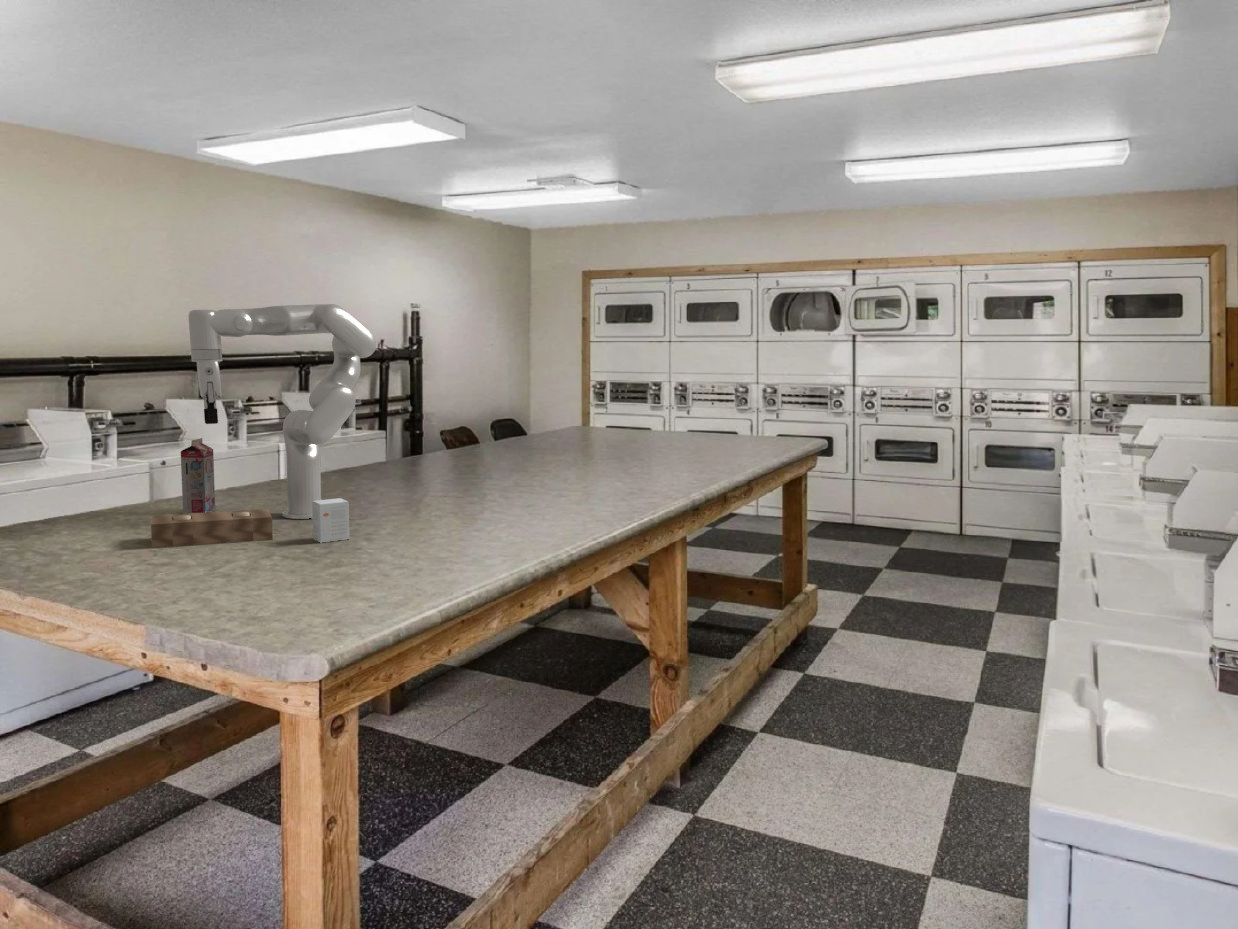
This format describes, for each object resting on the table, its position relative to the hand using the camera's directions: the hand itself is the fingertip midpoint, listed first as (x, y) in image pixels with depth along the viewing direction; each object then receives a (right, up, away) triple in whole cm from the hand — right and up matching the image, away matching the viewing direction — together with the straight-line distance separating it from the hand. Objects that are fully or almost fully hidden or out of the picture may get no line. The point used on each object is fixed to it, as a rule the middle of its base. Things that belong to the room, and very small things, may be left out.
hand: (211, 423), depth 238 cm
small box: (+35, -31, -7) cm, 48 cm away
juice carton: (-15, -26, +24) cm, 38 cm away
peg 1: (-1, -30, -13) cm, 33 cm away
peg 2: (+11, -30, -7) cm, 33 cm away
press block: (+5, -31, -10) cm, 33 cm away
